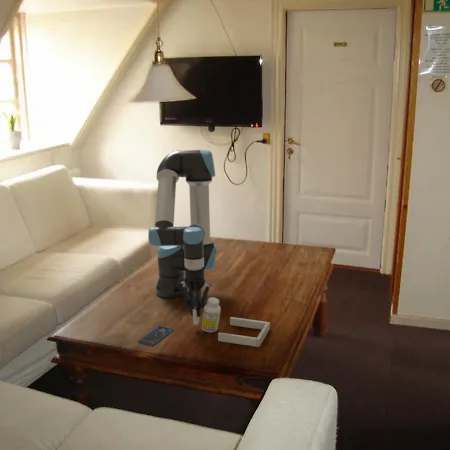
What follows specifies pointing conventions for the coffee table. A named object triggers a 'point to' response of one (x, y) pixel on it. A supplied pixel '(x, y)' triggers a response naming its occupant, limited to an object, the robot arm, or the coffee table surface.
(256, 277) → the coffee table surface
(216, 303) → the supplement bottle
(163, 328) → the smartphone
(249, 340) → the corral
